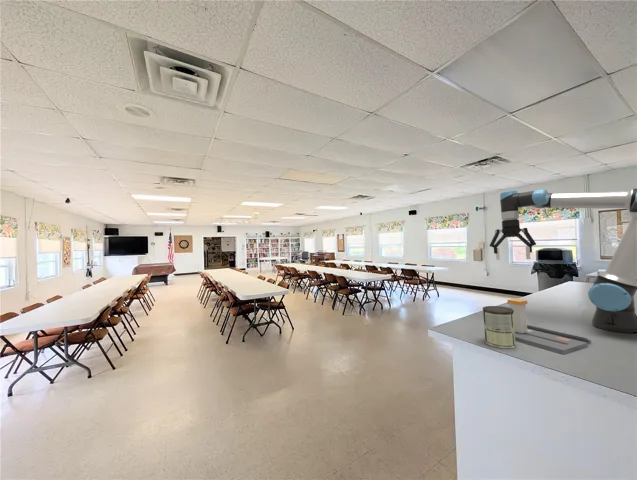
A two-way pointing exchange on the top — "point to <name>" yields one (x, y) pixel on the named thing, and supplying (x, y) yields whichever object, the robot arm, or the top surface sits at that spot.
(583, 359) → the top surface
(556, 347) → the switch panel
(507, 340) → the coffee can
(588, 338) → the grey flat bar
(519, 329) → the breaker handle
